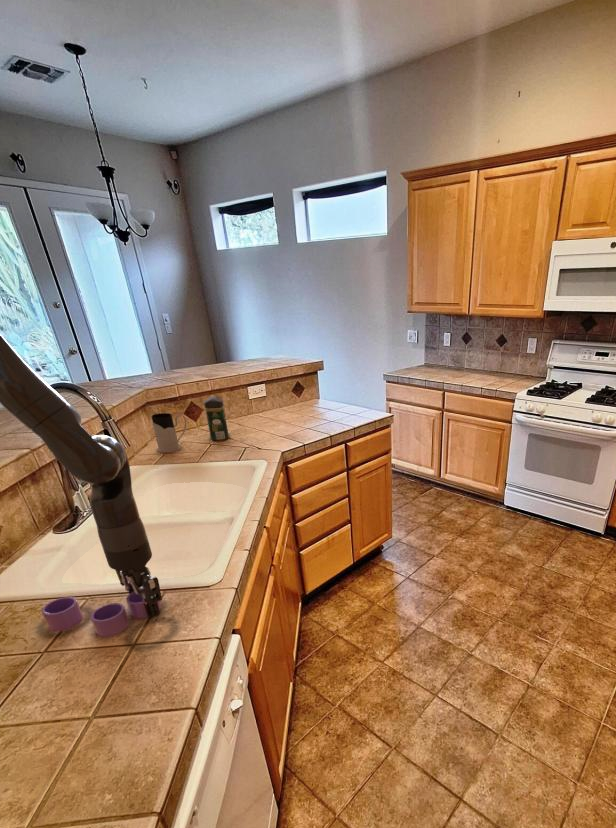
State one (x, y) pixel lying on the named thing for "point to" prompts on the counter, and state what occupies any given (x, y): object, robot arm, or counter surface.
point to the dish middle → (110, 619)
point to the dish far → (137, 605)
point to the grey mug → (166, 432)
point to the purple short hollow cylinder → (62, 614)
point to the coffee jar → (216, 418)
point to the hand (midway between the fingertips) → (146, 609)
